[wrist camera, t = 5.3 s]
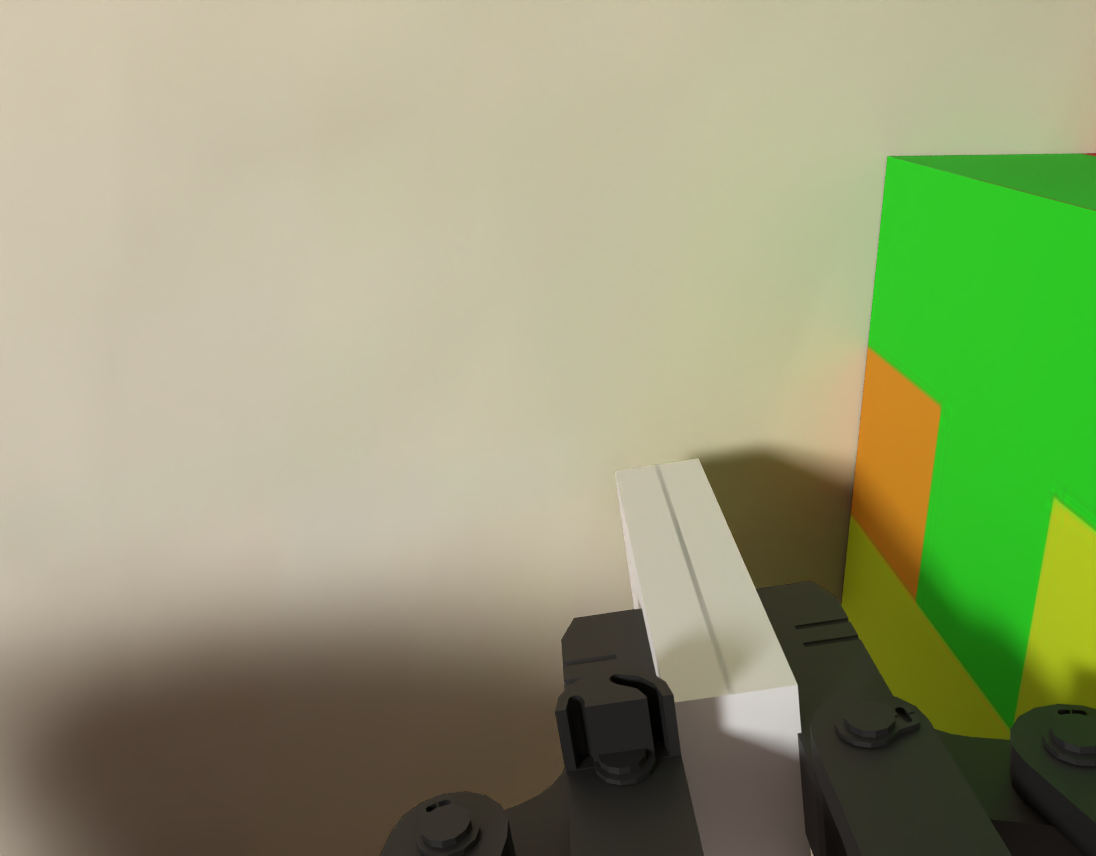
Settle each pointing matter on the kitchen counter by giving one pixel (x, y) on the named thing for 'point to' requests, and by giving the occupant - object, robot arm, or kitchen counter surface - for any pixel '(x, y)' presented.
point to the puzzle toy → (980, 440)
